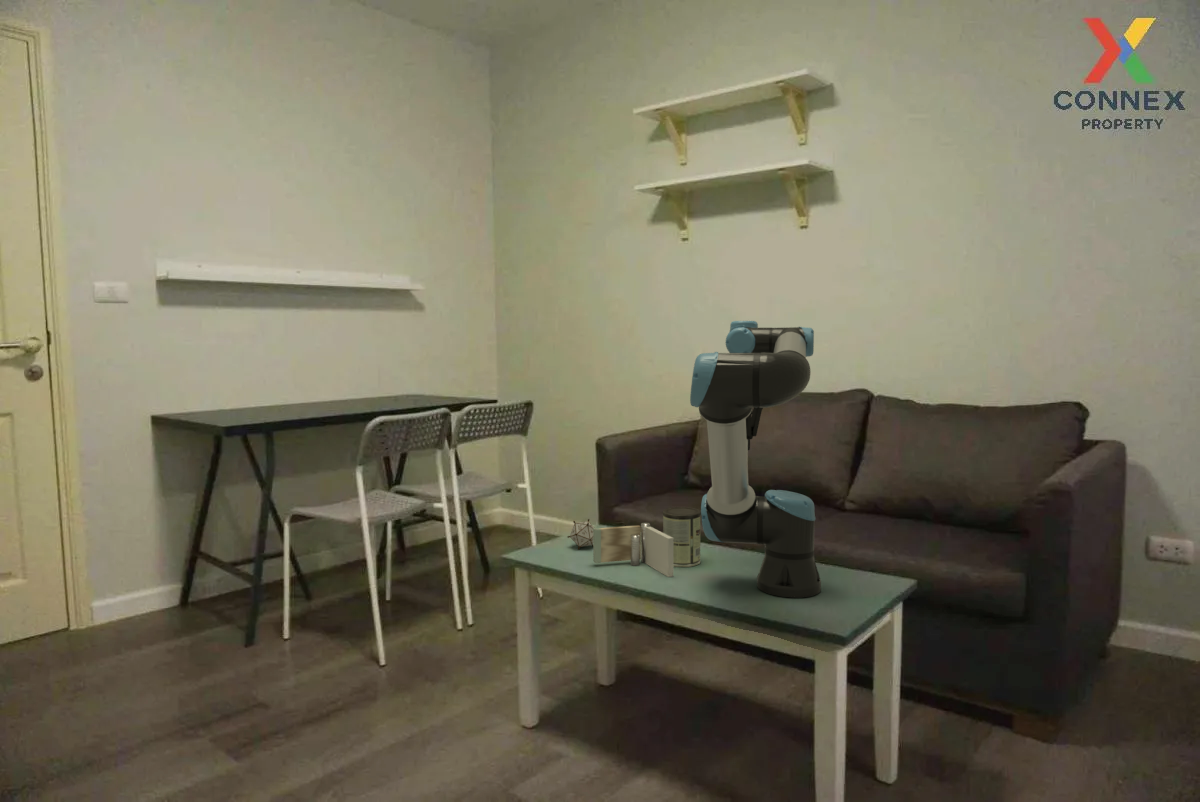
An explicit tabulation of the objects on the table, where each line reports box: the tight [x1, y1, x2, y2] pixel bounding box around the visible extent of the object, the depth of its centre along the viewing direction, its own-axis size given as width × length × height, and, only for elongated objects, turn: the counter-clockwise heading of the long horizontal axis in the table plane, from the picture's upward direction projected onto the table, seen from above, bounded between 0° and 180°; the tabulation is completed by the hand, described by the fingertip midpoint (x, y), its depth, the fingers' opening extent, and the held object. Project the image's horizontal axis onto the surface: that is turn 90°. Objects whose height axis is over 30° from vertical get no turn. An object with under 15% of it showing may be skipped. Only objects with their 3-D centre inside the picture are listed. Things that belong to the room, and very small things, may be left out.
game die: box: [567, 518, 595, 550], centre depth 225 cm, size 9×8×10 cm
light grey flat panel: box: [644, 526, 674, 578], centre depth 203 cm, size 13×2×10 cm, turn 23°
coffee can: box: [662, 506, 701, 568], centre depth 210 cm, size 10×10×14 cm
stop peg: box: [630, 534, 641, 567], centre depth 207 cm, size 2×2×8 cm
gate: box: [592, 525, 641, 564], centre depth 208 cm, size 13×2×9 cm, turn 105°
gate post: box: [640, 522, 651, 564], centre depth 210 cm, size 2×2×10 cm
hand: (742, 462), depth 213 cm, fingers closed
